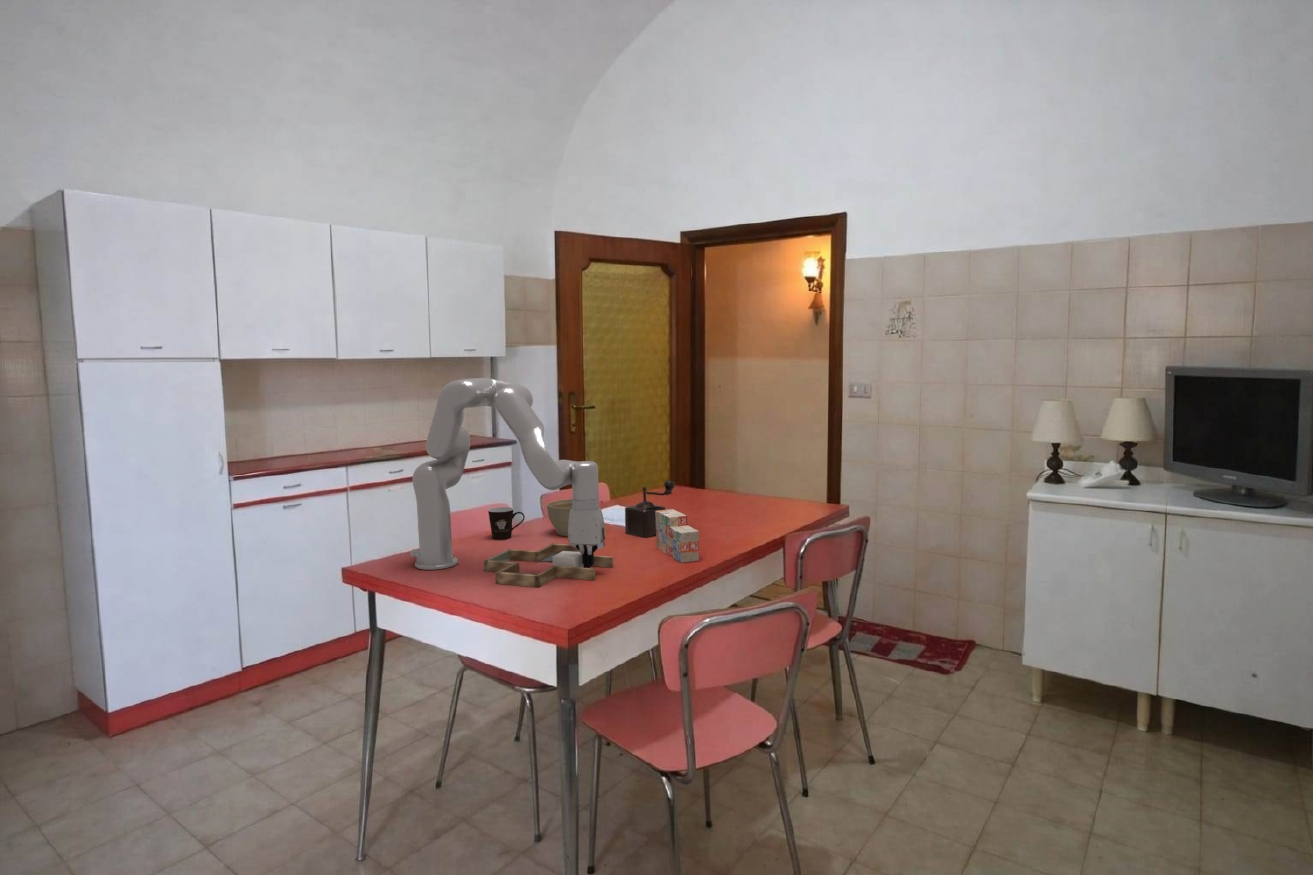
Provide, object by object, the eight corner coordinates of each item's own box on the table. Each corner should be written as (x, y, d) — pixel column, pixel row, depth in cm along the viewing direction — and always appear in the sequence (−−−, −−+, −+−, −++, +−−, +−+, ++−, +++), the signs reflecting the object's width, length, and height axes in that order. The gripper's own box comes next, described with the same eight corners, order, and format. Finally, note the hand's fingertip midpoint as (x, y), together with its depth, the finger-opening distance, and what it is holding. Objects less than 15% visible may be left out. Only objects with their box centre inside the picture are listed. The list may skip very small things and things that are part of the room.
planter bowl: (578, 526, 284) (577, 497, 283) (602, 534, 272) (601, 503, 270) (539, 532, 275) (538, 502, 274) (562, 541, 262) (561, 509, 261)
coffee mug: (484, 540, 266) (483, 511, 264) (495, 534, 274) (494, 506, 273) (516, 541, 263) (515, 512, 262) (526, 535, 271) (525, 507, 270)
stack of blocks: (699, 561, 234) (699, 521, 233) (680, 563, 232) (679, 523, 231) (673, 545, 254) (673, 508, 253) (655, 547, 252) (655, 509, 251)
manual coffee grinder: (645, 538, 264) (644, 486, 262) (624, 533, 272) (623, 482, 270) (678, 530, 274) (677, 480, 272) (656, 526, 282) (655, 477, 280)
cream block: (553, 573, 224) (552, 556, 223) (563, 567, 230) (562, 550, 230) (575, 575, 221) (574, 558, 221) (585, 568, 228) (584, 552, 228)
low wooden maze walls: (465, 580, 218) (464, 570, 218) (524, 550, 250) (524, 541, 250) (578, 590, 207) (578, 579, 206) (625, 558, 239) (625, 548, 239)
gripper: (556, 505, 221) (559, 568, 223) (604, 508, 216) (607, 572, 218) (568, 501, 228) (570, 561, 230) (615, 503, 223) (617, 565, 225)
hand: (588, 566), depth 224 cm, fingers closed
